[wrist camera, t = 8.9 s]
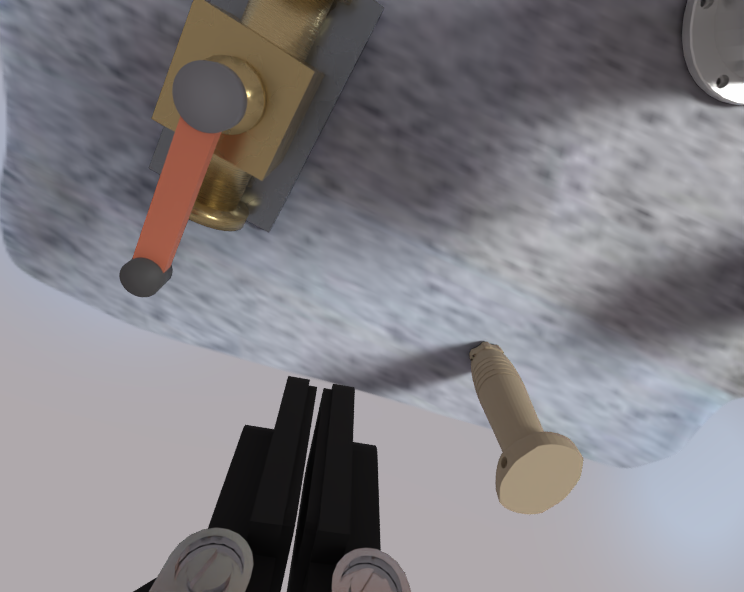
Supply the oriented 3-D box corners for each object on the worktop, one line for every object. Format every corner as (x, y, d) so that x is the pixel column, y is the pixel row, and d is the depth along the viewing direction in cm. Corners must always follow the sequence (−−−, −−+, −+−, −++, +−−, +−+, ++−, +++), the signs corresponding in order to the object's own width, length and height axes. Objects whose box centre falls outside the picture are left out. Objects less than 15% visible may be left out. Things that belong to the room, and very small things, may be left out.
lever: (195, 48, 21) (181, 45, 20) (256, 83, 22) (248, 83, 21) (121, 270, 26) (106, 282, 25) (174, 293, 27) (161, 307, 26)
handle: (448, 373, 43) (485, 504, 30) (476, 319, 41) (531, 436, 27) (492, 386, 44) (548, 520, 31) (522, 334, 42) (598, 455, 28)
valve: (248, -87, 28) (186, -177, 18) (383, 9, 30) (392, -26, 21) (154, 166, 34) (72, 198, 25) (271, 228, 37) (237, 280, 27)
